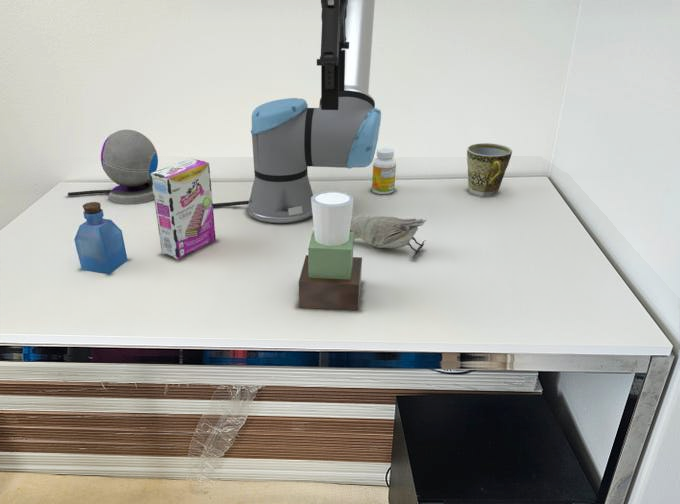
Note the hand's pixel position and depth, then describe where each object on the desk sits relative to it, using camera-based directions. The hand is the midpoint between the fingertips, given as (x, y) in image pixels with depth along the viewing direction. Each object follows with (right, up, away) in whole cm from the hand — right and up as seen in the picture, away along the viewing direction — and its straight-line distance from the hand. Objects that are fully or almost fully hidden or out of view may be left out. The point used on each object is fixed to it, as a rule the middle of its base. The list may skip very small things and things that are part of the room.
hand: (333, 99), depth 104 cm
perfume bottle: (-43, -26, +14) cm, 53 cm away
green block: (0, -29, +1) cm, 29 cm away
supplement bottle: (+14, -3, +45) cm, 47 cm away
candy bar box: (-28, -22, +20) cm, 41 cm away
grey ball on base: (-46, -4, +46) cm, 65 cm away
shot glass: (0, -24, -2) cm, 24 cm away
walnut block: (0, -33, +4) cm, 33 cm away
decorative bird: (+11, -22, +18) cm, 31 cm away
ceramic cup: (+38, -5, +42) cm, 57 cm away
